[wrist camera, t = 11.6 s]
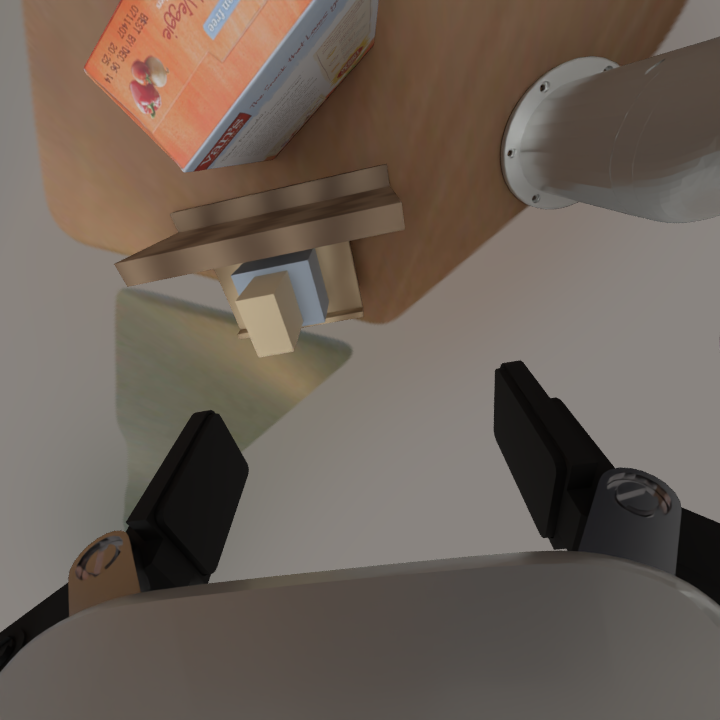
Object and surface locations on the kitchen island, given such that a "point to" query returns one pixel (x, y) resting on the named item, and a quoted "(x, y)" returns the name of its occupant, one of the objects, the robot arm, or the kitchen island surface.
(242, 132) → the cracker box
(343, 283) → the wooden toy bench
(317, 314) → the stacked toy blocks
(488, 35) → the kitchen island surface
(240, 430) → the kitchen island surface
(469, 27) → the kitchen island surface
